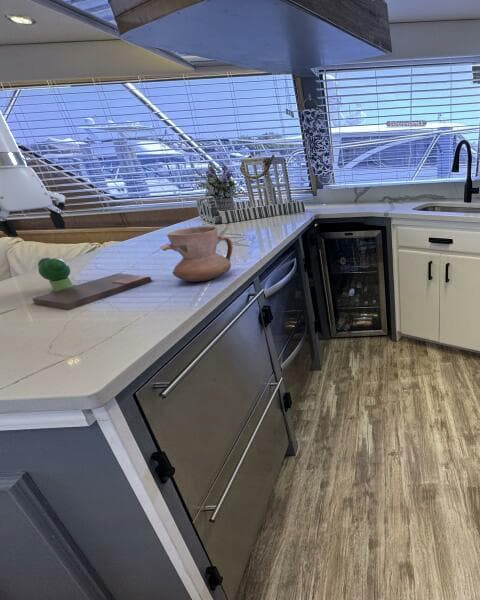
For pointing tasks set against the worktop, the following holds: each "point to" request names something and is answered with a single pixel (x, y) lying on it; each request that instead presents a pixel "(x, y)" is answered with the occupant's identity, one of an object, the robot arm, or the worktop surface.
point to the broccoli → (55, 273)
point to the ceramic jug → (199, 253)
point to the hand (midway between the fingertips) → (38, 232)
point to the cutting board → (91, 291)
